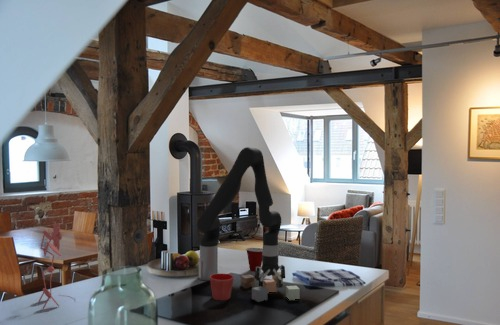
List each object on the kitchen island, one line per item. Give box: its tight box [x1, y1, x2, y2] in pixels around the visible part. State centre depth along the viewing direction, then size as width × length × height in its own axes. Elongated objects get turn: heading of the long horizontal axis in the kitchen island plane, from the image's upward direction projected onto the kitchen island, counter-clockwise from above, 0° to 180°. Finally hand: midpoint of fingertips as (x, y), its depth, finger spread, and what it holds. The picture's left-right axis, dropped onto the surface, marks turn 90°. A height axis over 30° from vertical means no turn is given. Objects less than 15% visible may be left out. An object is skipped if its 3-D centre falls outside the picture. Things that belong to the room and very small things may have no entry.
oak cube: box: [271, 271, 284, 285], centre depth 239 cm, size 5×5×5 cm
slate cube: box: [251, 285, 268, 303], centre depth 213 cm, size 5×5×5 cm
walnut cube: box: [240, 274, 256, 289], centre depth 233 cm, size 5×5×5 cm
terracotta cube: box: [263, 278, 277, 294], centre depth 225 cm, size 5×5×5 cm
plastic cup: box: [245, 247, 263, 272], centre depth 263 cm, size 11×11×12 cm
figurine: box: [38, 221, 75, 313], centre depth 205 cm, size 15×26×35 cm, turn 35°
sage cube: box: [285, 285, 301, 301], centre depth 215 cm, size 5×5×5 cm
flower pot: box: [209, 273, 234, 301], centre depth 215 cm, size 11×11×10 cm
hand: (270, 288), depth 225 cm, fingers open, 8 cm apart
